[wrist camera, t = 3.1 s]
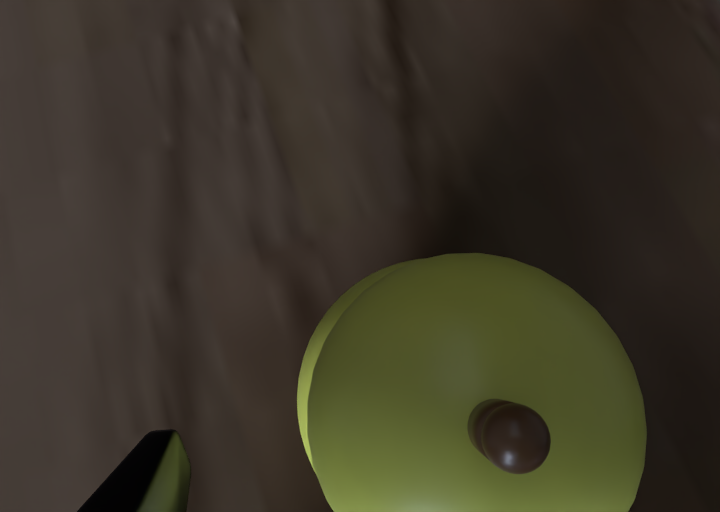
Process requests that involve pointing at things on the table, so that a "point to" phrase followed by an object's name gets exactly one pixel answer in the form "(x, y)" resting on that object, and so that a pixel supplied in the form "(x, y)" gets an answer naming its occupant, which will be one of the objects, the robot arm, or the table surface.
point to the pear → (470, 394)
